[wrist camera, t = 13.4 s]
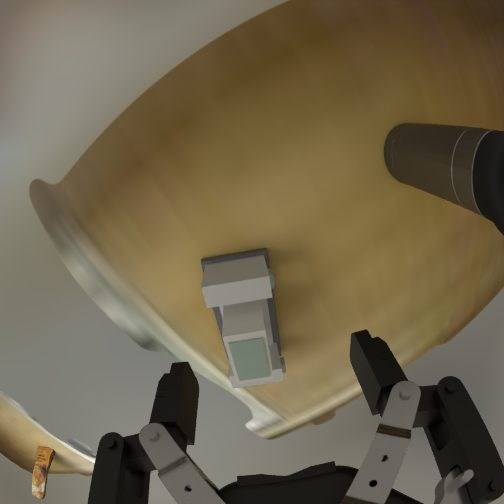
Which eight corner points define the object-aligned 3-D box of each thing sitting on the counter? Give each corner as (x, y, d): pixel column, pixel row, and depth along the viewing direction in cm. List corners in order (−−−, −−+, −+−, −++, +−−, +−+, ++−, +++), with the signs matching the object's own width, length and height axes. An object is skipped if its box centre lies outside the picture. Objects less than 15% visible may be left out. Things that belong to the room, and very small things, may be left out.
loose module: (258, 289, 39) (265, 331, 30) (266, 336, 43) (274, 380, 34) (223, 295, 39) (222, 338, 30) (235, 341, 43) (237, 385, 34)
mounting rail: (266, 247, 38) (273, 271, 32) (281, 352, 46) (287, 381, 40) (201, 258, 38) (196, 284, 32) (229, 360, 46) (230, 390, 40)
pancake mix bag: (62, 454, 70) (48, 503, 44) (45, 453, 72) (32, 495, 46) (50, 446, 67) (35, 495, 41) (34, 445, 70) (20, 488, 44)
